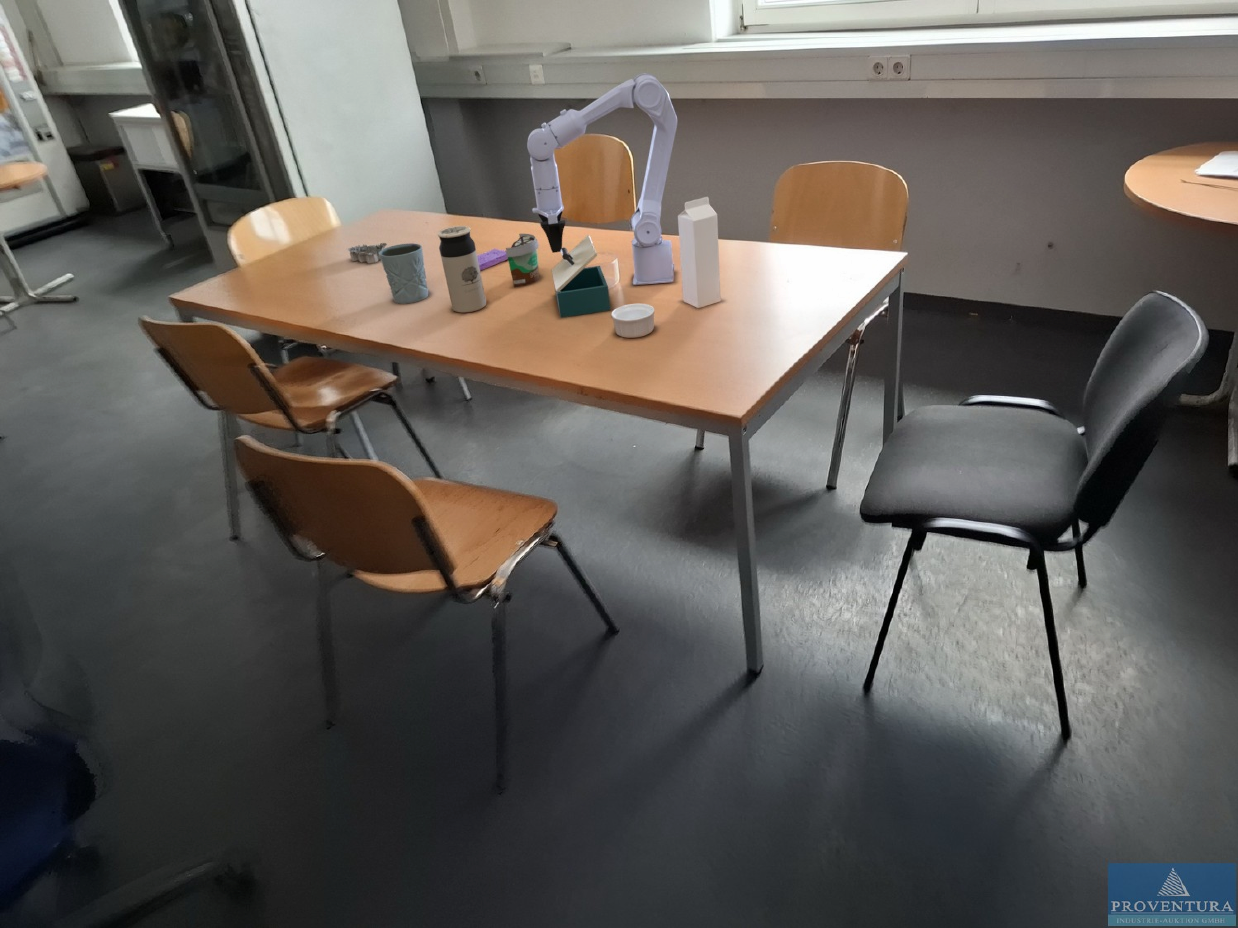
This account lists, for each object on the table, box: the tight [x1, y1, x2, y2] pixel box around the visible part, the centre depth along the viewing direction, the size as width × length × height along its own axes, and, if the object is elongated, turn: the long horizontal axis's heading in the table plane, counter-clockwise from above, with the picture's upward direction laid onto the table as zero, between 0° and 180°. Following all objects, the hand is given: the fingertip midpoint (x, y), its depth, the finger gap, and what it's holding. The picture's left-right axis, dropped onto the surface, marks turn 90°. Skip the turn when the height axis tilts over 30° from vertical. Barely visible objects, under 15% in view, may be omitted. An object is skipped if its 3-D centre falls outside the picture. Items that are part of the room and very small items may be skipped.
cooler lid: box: [551, 234, 598, 292], centre depth 181 cm, size 12×15×4 cm
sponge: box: [477, 248, 508, 271], centre depth 219 cm, size 7×13×2 cm, turn 136°
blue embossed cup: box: [379, 242, 429, 305], centre depth 199 cm, size 10×10×12 cm
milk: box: [677, 196, 722, 309], centre depth 174 cm, size 6×6×22 cm
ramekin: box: [610, 303, 655, 339], centre depth 168 cm, size 9×9×4 cm
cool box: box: [554, 265, 612, 319], centre depth 185 cm, size 11×15×6 cm
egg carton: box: [346, 242, 388, 264], centre depth 233 cm, size 11×8×4 cm
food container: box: [505, 233, 540, 288], centre depth 201 cm, size 12×6×10 cm, turn 169°
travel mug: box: [436, 225, 487, 314], centre depth 187 cm, size 8×8×18 cm
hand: (555, 247), depth 190 cm, fingers open, 7 cm apart
